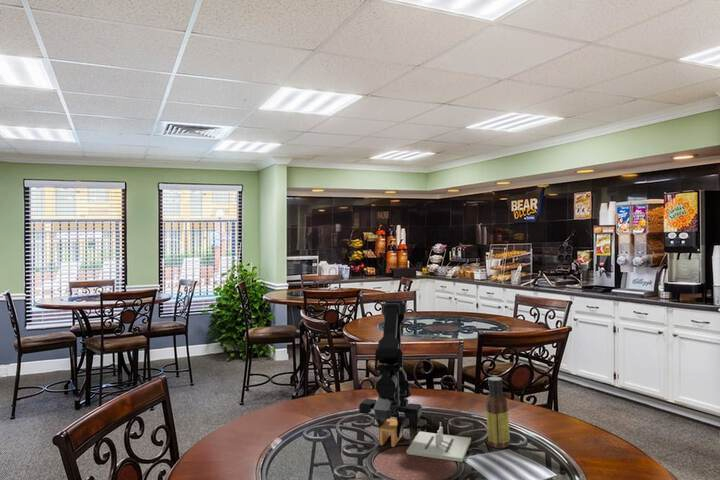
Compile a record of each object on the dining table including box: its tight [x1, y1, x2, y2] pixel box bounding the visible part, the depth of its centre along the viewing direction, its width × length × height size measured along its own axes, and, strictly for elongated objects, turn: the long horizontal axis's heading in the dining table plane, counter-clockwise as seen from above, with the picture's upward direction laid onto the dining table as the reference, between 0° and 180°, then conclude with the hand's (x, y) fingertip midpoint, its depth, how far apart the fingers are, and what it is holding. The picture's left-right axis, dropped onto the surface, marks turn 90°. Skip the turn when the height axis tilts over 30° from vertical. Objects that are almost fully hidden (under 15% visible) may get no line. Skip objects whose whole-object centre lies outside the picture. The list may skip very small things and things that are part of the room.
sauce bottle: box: [485, 376, 511, 449], centre depth 150 cm, size 7×6×20 cm
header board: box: [406, 426, 472, 463], centre depth 149 cm, size 16×14×5 cm
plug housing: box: [379, 418, 403, 448], centre depth 155 cm, size 8×4×5 cm, turn 158°
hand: (391, 436), depth 155 cm, fingers closed on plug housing, 4 cm apart
